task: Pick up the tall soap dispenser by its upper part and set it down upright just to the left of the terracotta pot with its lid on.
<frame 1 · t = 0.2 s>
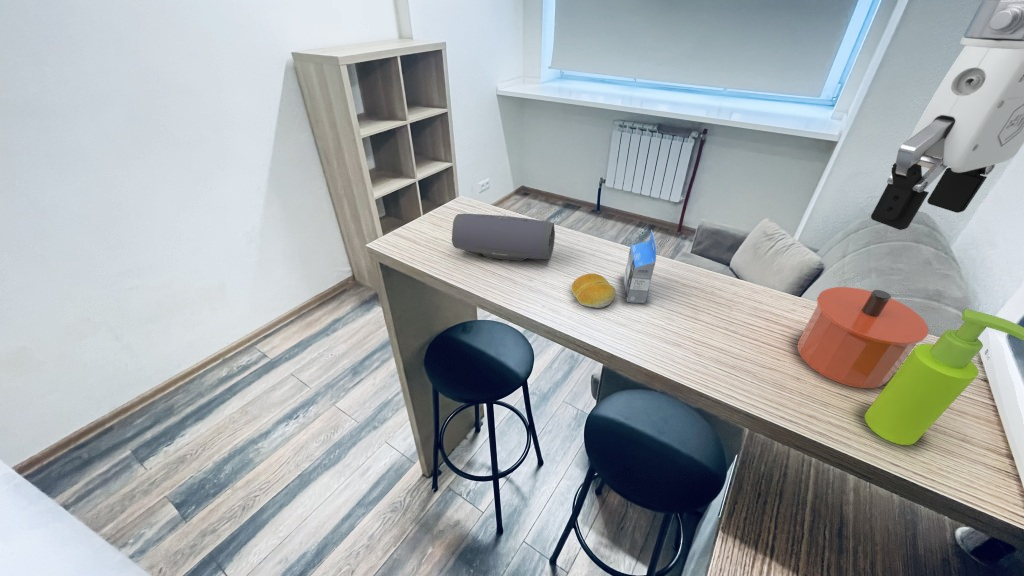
hand: (916, 215, 43), 30 cm above the table, tool pointing down, fingers open, 9 cm apart
label tape box: (634, 291, 85), on the table
pot lid: (868, 314, 62), point 9 cm above the table, touching pot
soap dispenser: (894, 429, 57), on the table
bluetooth speaker: (504, 256, 98), on the table
pot: (841, 359, 68), on the table
bread roll: (592, 296, 84), on the table
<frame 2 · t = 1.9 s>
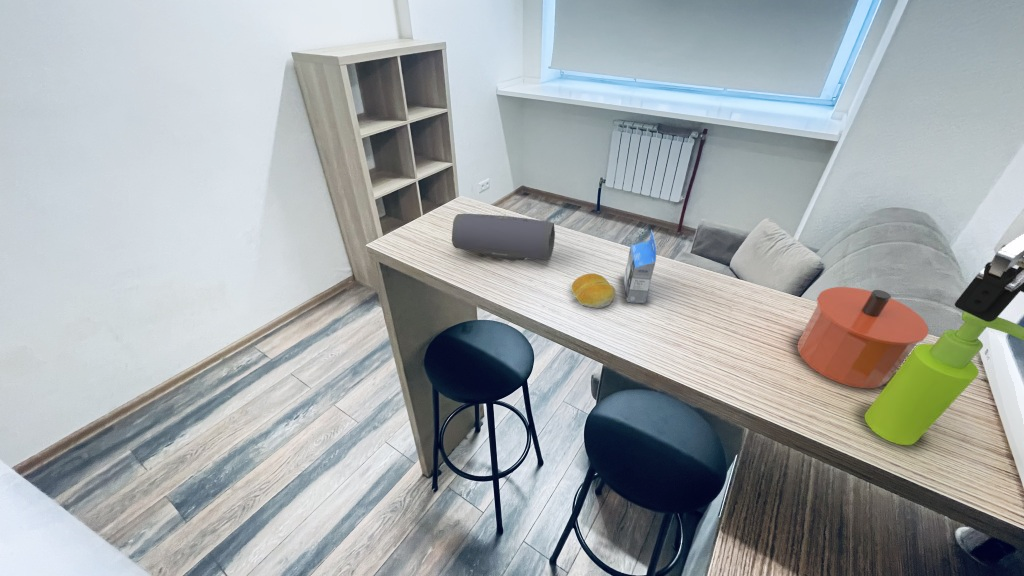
hand: (998, 302, 44), 22 cm above the table, tool pointing down, fingers open, 9 cm apart
nothing on the table moved.
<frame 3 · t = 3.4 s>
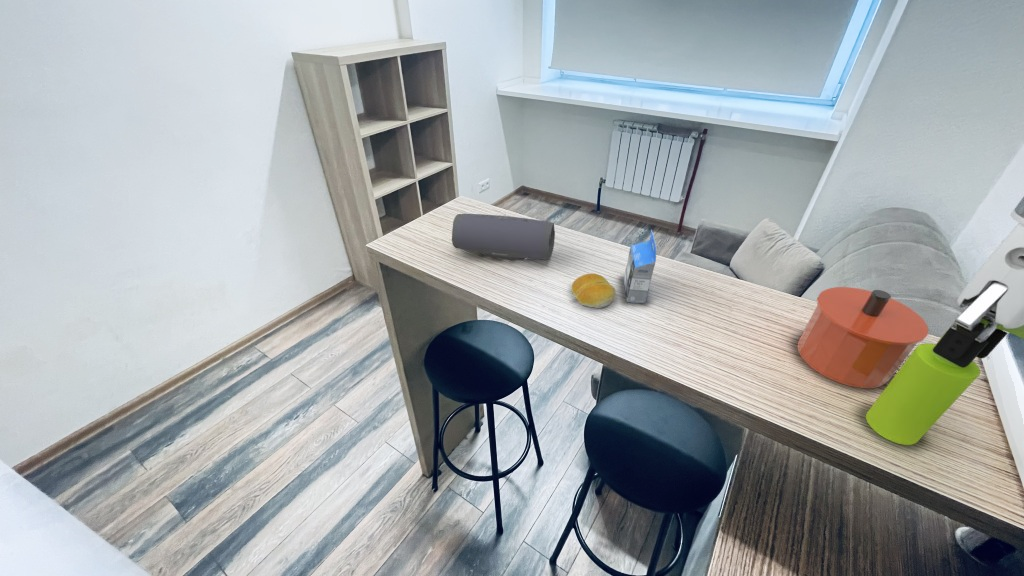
hand: (958, 353, 48), 15 cm above the table, tool pointing down, fingers closed on soap dispenser, 3 cm apart
soap dispenser: (895, 429, 57), on the table, touching gripper
everything else where it was.
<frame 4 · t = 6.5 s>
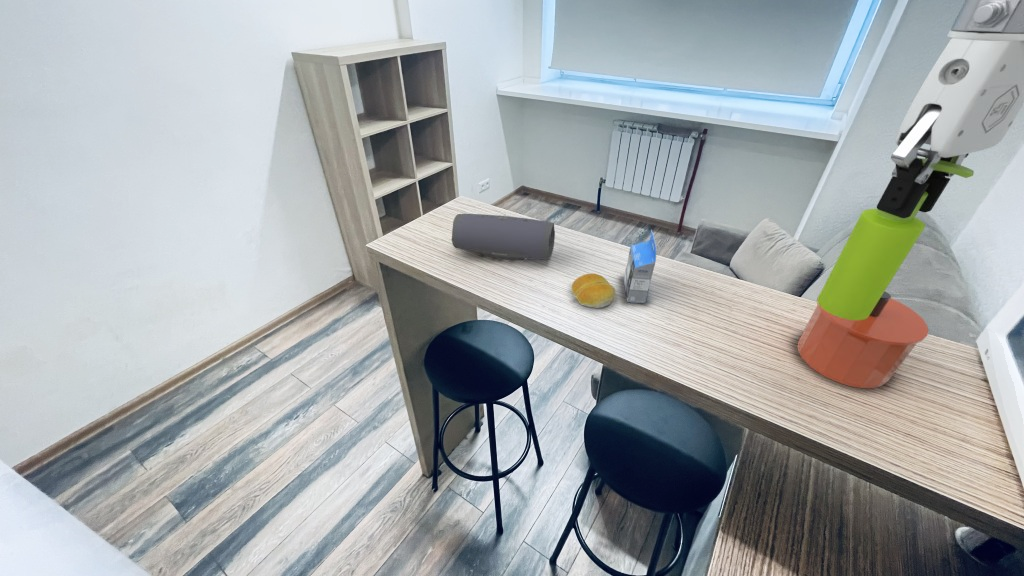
hand: (902, 209, 47), 30 cm above the table, tool pointing down, fingers closed on soap dispenser, 3 cm apart
soap dispenser: (846, 309, 55), point 15 cm above the table, touching gripper
everything else where it was.
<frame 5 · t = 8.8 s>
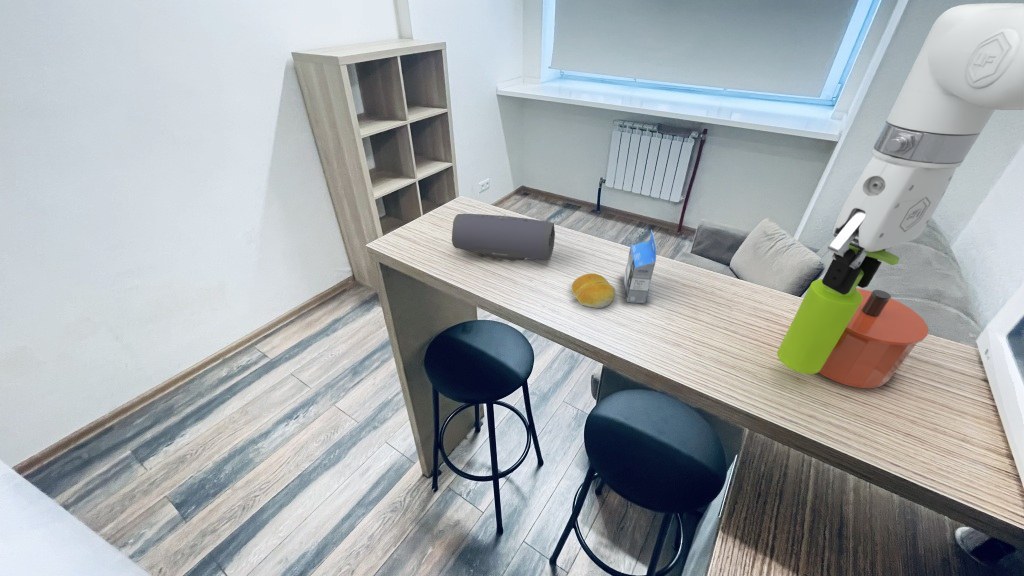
hand: (844, 284, 54), 18 cm above the table, tool pointing down, fingers closed on soap dispenser, 3 cm apart
soap dispenser: (802, 362, 62), point 4 cm above the table, touching gripper
everything else where it was.
when the fingers open (15 cm above the table, at t = 10.0 s): soap dispenser stays where it is, on the table.
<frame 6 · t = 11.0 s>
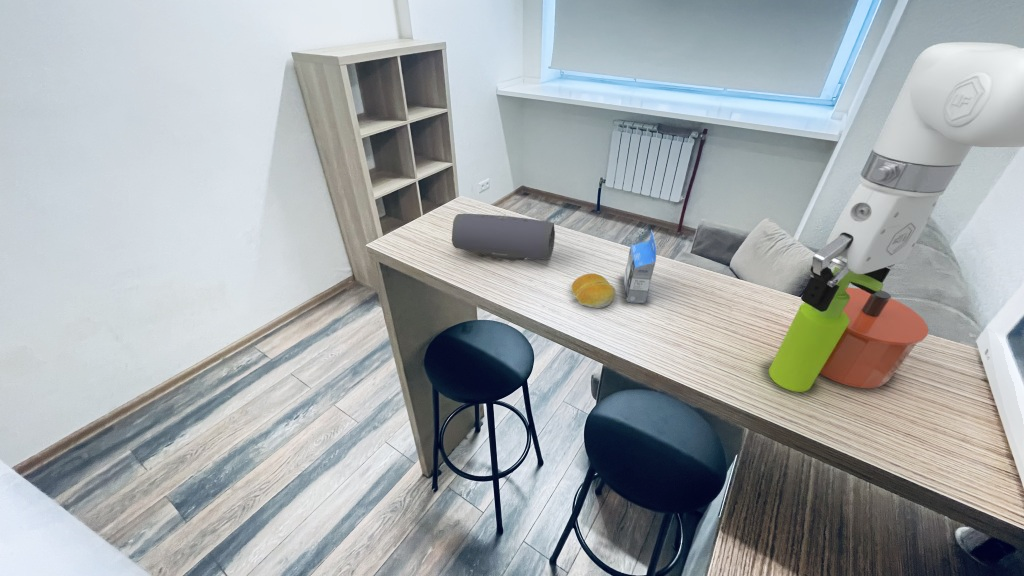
hand: (838, 296, 55), 16 cm above the table, tool pointing down, fingers open, 9 cm apart
soap dispenser: (792, 380, 65), on the table
everything else where it was.
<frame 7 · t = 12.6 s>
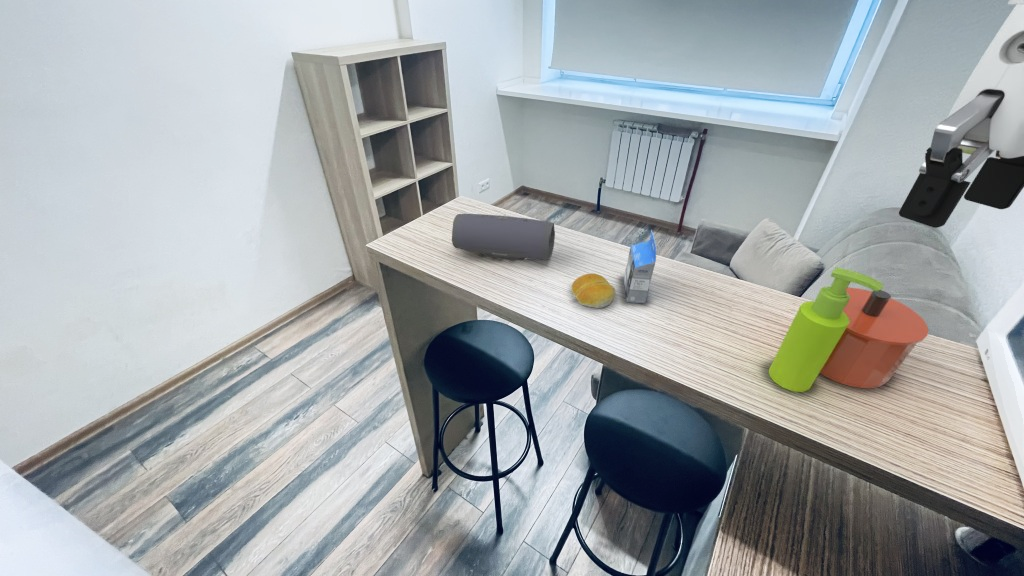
hand: (952, 212, 37), 33 cm above the table, tool pointing down, fingers open, 9 cm apart
nothing on the table moved.
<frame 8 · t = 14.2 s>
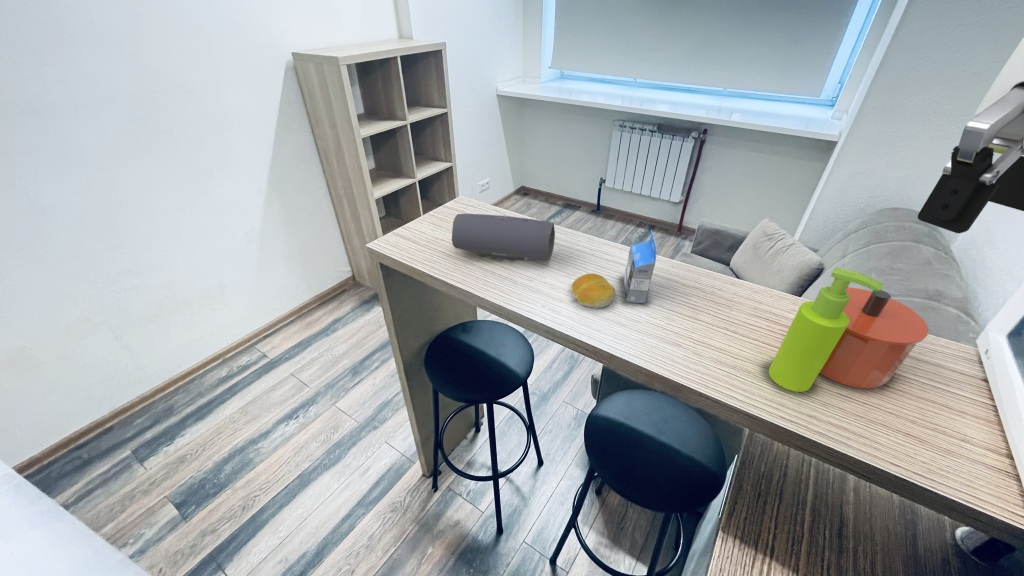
hand: (975, 215, 34), 34 cm above the table, tool pointing down, fingers open, 9 cm apart
nothing on the table moved.
at the end: soap dispenser 0.3 cm from the target spot on the table beside the pot, on the table; soap dispenser tilted 0°; the gripper is holding nothing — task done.
